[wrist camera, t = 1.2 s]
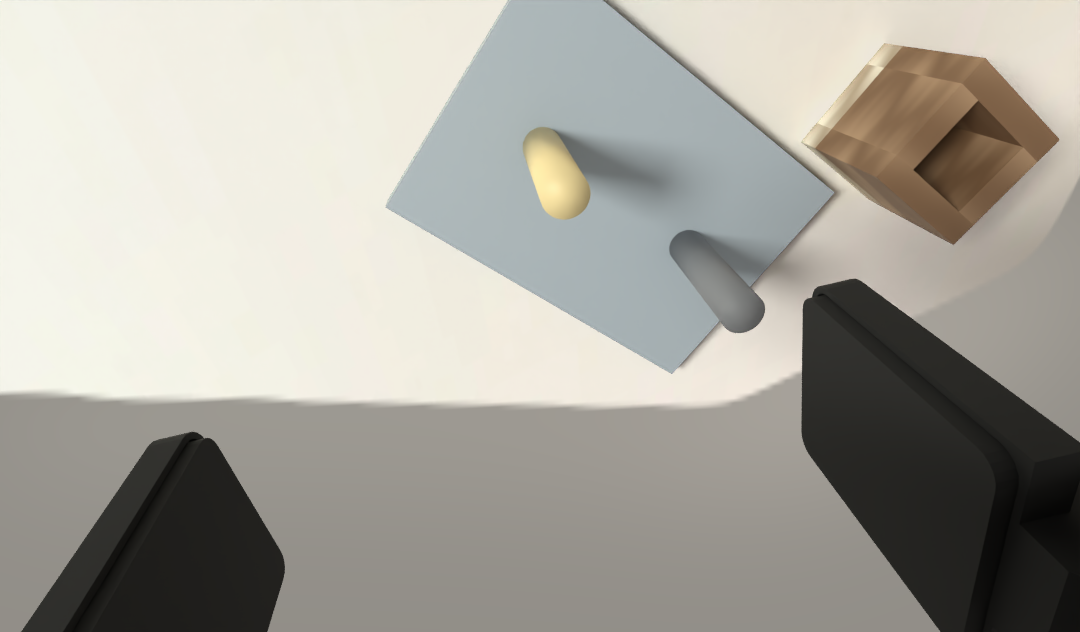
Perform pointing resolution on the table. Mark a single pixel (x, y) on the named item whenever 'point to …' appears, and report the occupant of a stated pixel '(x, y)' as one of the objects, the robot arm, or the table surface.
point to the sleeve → (931, 137)
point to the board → (607, 180)
